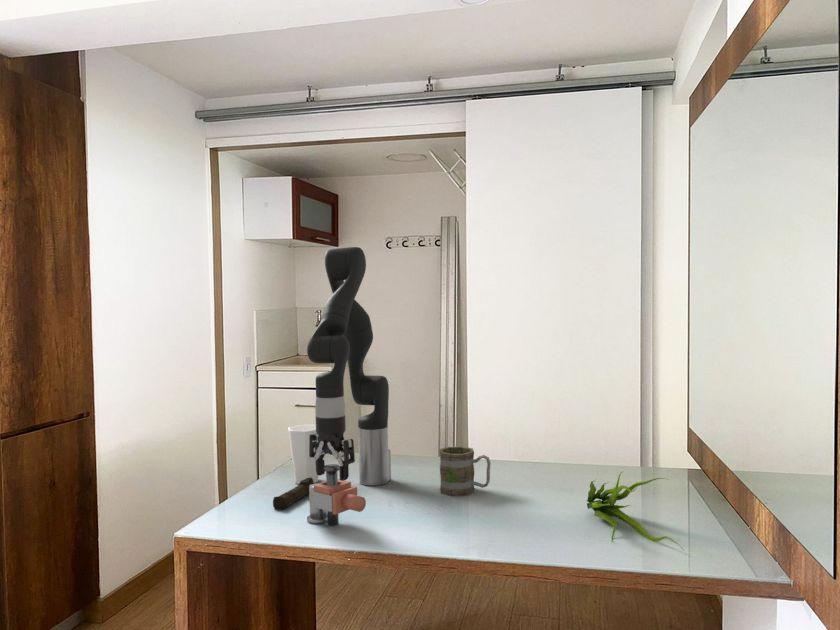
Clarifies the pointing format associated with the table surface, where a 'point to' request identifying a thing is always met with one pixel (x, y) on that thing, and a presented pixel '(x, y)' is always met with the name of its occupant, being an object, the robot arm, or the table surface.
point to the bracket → (342, 496)
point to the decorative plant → (616, 506)
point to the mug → (459, 471)
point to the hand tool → (292, 494)
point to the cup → (302, 452)
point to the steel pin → (332, 481)
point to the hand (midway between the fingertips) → (332, 477)
